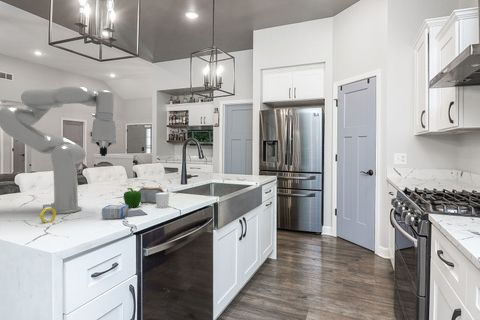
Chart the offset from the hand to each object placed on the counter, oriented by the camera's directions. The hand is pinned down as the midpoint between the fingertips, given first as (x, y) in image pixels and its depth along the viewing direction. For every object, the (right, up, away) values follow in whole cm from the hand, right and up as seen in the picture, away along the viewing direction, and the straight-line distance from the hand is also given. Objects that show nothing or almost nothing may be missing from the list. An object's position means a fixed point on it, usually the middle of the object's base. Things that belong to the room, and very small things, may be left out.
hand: (103, 156), depth 137 cm
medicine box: (+6, -24, -11) cm, 27 cm away
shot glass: (+25, -26, +12) cm, 38 cm away
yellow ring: (-14, -27, -19) cm, 36 cm away
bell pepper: (+10, -26, +11) cm, 30 cm away
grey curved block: (+16, -26, +22) cm, 38 cm away
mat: (+13, -27, -6) cm, 30 cm away
